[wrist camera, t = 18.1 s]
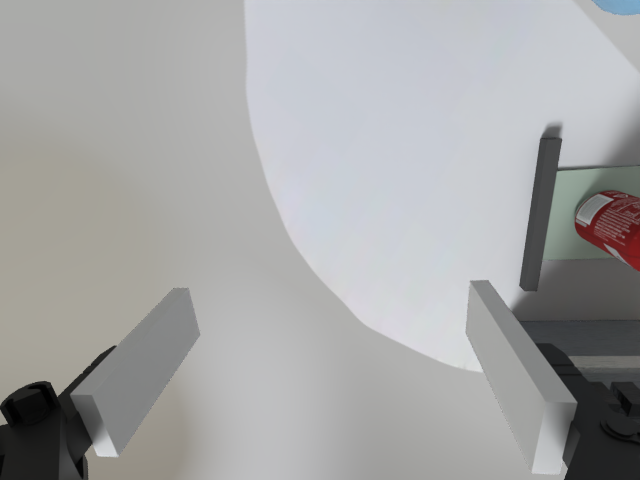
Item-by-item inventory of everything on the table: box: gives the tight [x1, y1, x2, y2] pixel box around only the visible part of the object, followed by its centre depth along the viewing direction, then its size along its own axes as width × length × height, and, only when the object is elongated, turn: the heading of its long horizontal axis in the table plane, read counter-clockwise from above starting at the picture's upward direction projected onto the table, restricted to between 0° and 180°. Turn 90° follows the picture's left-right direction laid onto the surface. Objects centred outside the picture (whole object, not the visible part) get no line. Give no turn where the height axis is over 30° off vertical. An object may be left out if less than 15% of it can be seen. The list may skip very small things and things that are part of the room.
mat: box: [542, 166, 640, 260], centre depth 44 cm, size 12×12×1 cm
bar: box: [519, 138, 562, 291], centre depth 44 cm, size 20×2×2 cm, turn 5°
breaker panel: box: [519, 320, 640, 425], centre depth 39 cm, size 5×20×24 cm, turn 95°
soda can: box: [574, 190, 640, 272], centre depth 38 cm, size 7×7×12 cm
